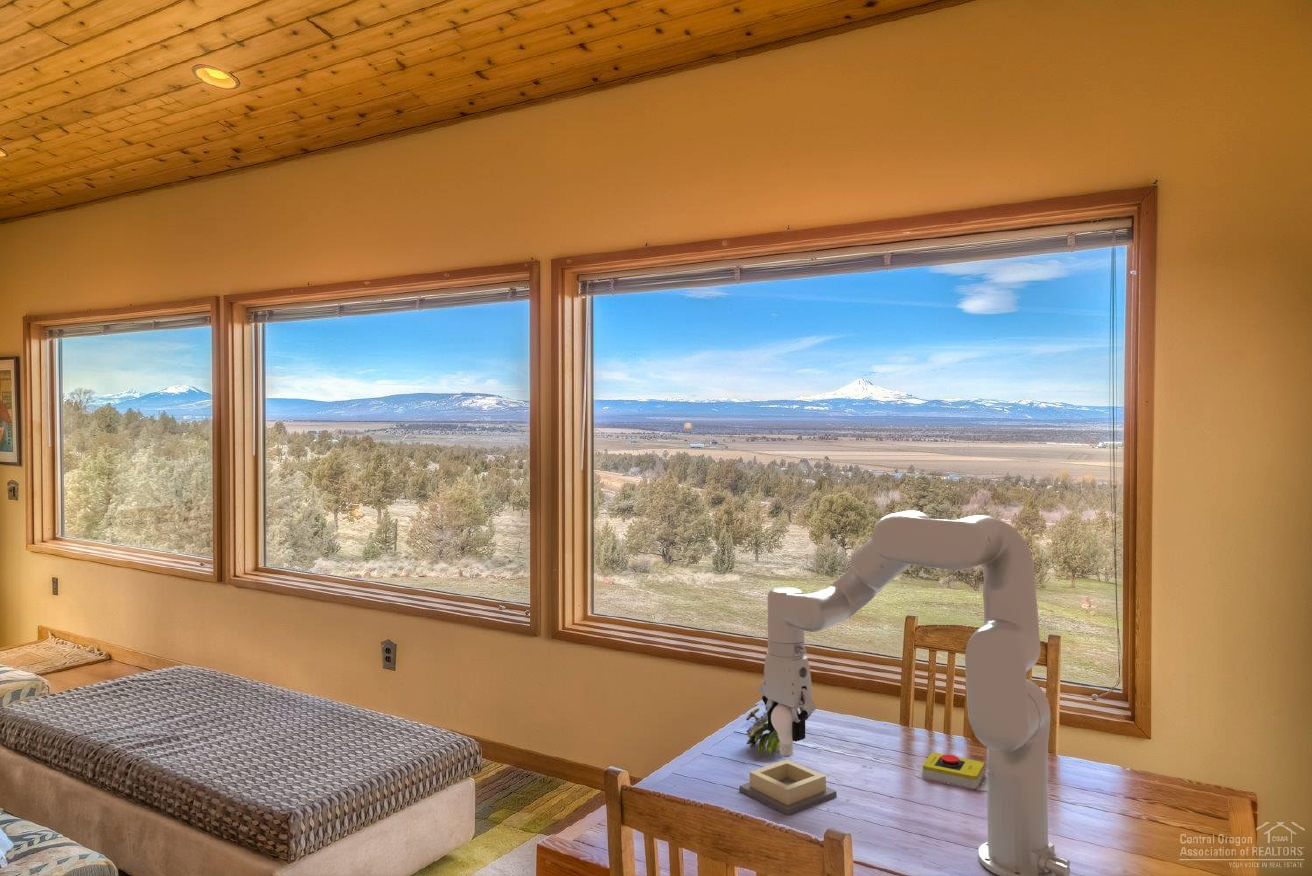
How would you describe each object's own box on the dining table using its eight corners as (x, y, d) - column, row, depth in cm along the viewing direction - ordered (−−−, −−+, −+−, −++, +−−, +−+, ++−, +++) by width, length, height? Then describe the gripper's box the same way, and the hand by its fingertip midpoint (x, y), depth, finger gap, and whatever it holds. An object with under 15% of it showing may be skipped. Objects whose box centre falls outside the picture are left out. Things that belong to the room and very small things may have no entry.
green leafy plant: (754, 768, 197) (751, 717, 204) (799, 764, 194) (794, 713, 201) (742, 756, 188) (739, 703, 195) (789, 751, 185) (784, 698, 192)
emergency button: (925, 745, 186) (996, 758, 178) (925, 764, 186) (996, 778, 178) (914, 758, 178) (987, 773, 170) (914, 779, 178) (987, 795, 170)
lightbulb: (766, 759, 169) (766, 705, 169) (776, 748, 175) (776, 696, 175) (796, 764, 166) (796, 710, 166) (806, 753, 172) (805, 701, 172)
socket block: (836, 796, 169) (836, 776, 169) (787, 815, 161) (787, 794, 161) (787, 773, 180) (787, 755, 180) (739, 790, 172) (739, 771, 172)
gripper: (830, 654, 166) (830, 743, 166) (769, 637, 180) (770, 719, 180) (804, 660, 161) (804, 752, 161) (744, 642, 175) (744, 726, 175)
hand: (786, 734), depth 170 cm, fingers closed on lightbulb, 6 cm apart
